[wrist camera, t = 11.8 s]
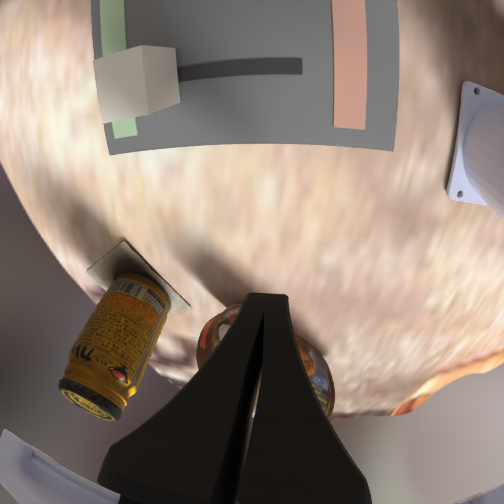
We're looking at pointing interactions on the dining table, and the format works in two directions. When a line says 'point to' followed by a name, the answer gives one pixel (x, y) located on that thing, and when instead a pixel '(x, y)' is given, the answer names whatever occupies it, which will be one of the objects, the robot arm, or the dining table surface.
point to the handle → (136, 82)
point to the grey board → (261, 71)
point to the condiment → (118, 334)
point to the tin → (309, 355)
